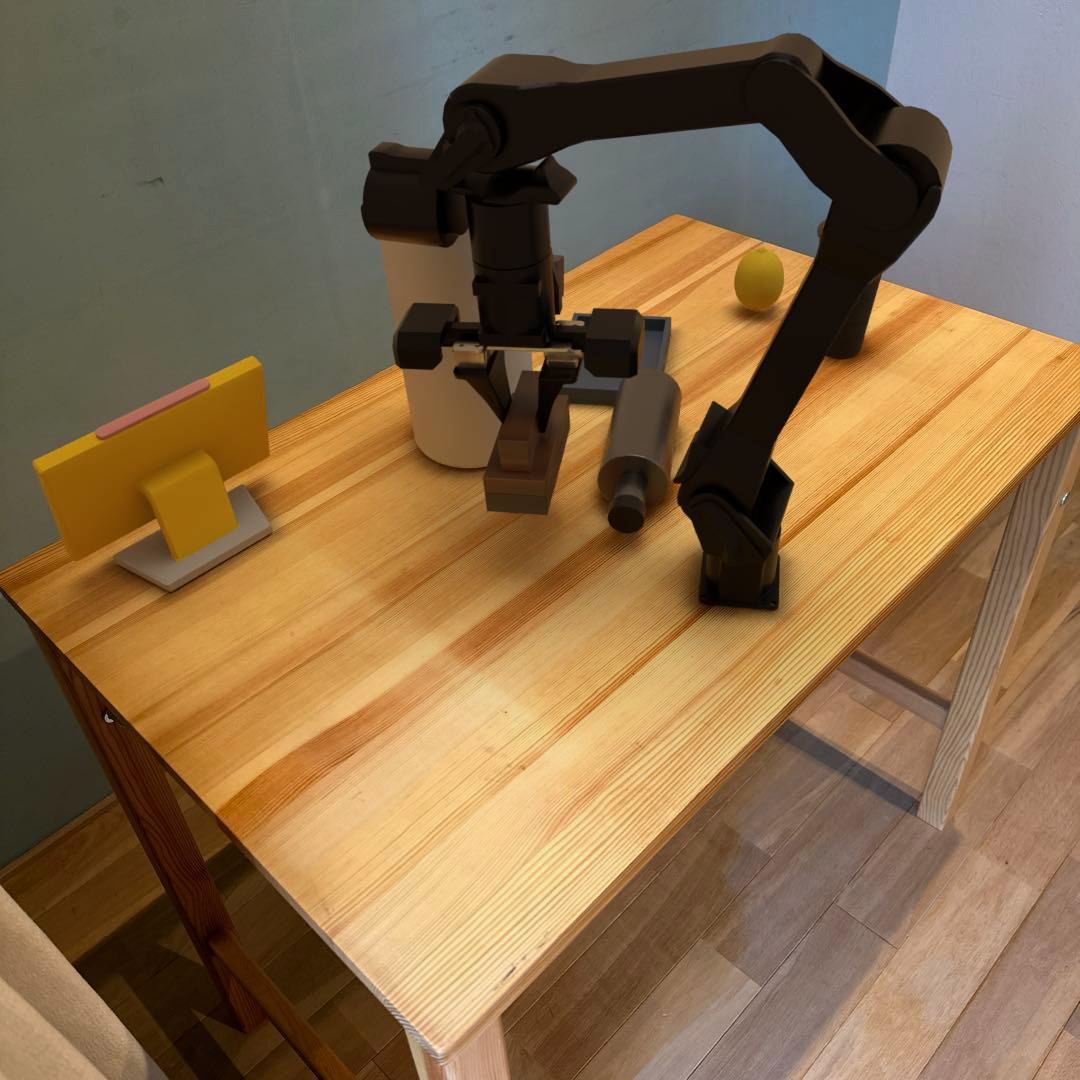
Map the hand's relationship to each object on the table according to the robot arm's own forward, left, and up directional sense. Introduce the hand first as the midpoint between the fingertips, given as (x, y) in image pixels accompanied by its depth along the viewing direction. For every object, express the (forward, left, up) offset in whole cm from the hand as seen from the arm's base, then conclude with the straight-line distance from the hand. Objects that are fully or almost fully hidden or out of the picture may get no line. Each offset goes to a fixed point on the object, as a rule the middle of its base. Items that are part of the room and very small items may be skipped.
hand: (527, 429), depth 82 cm
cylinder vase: (+15, +9, -12) cm, 21 cm away
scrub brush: (0, 0, -4) cm, 4 cm away
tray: (+28, -3, -12) cm, 31 cm away
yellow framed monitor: (-5, +31, -12) cm, 33 cm away
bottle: (+9, -8, -12) cm, 17 cm away
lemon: (+41, -18, -12) cm, 47 cm away
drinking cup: (+34, -27, -12) cm, 45 cm away
